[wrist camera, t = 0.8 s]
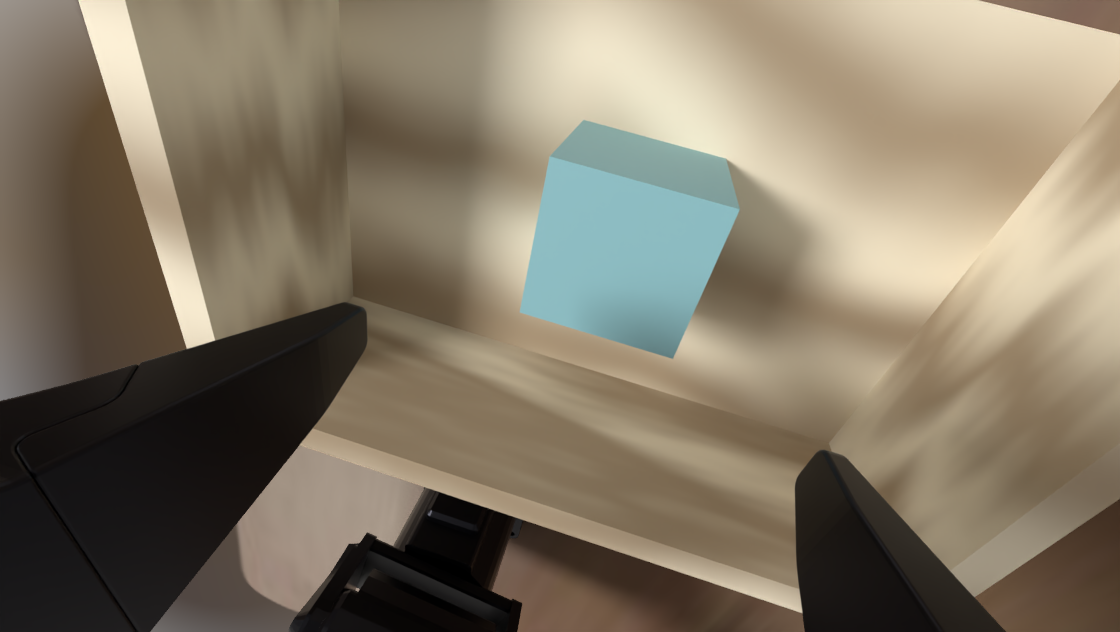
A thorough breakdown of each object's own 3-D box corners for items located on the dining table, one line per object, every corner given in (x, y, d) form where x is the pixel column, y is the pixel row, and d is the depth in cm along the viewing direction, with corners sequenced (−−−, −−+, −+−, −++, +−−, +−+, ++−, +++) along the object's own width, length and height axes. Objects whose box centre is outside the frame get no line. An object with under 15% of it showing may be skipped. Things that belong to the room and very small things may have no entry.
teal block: (675, 283, 19) (672, 358, 15) (555, 247, 19) (519, 312, 15) (726, 158, 16) (739, 209, 12) (583, 119, 16) (549, 156, 12)
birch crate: (838, 459, 22) (901, 646, 16) (337, 304, 24) (207, 414, 18) (1182, 52, 13) (1712, 97, 6) (304, -161, 14) (-18, -304, 8)
